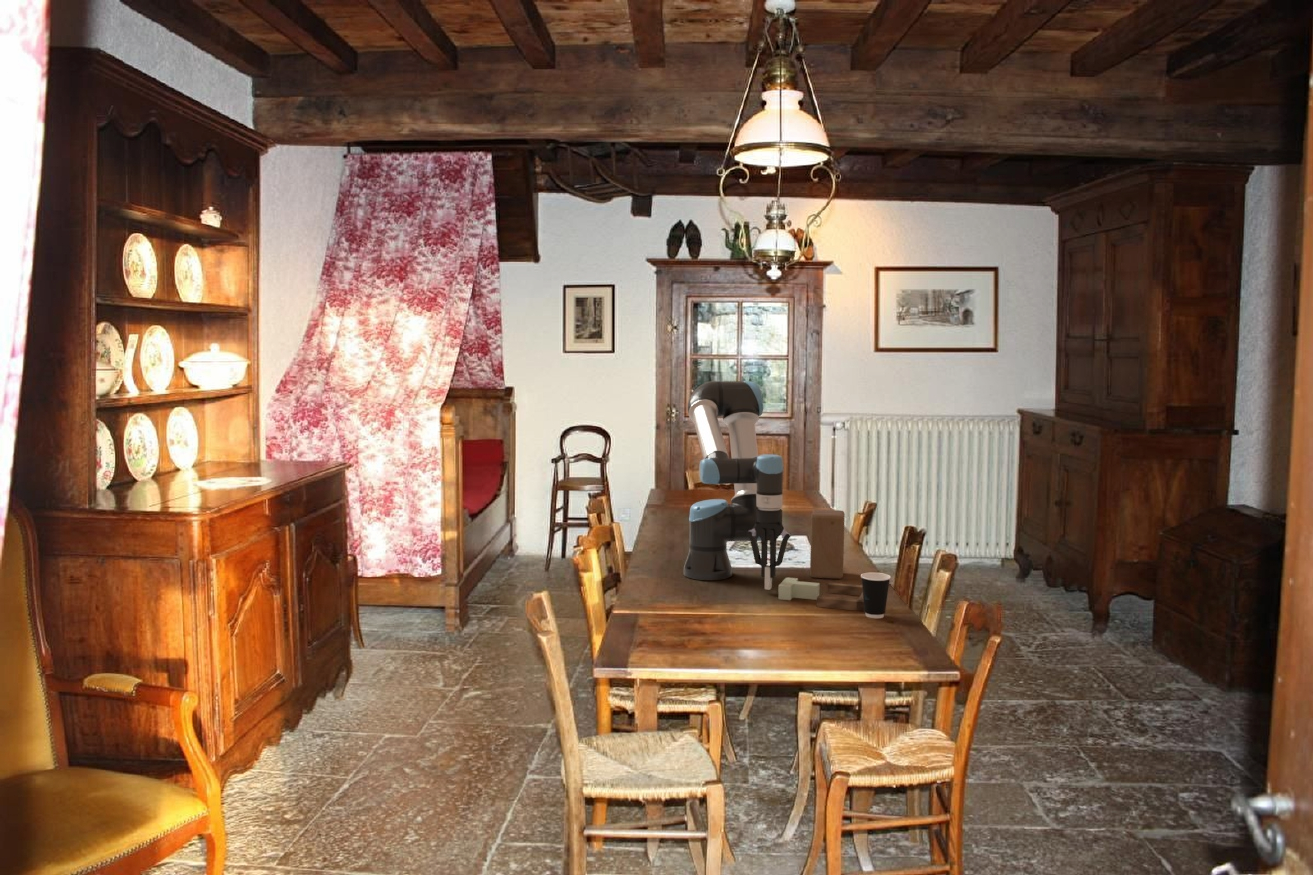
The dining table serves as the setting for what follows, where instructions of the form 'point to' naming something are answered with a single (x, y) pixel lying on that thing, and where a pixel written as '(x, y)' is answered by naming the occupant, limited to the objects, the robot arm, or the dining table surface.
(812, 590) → the t block
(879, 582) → the dixie cup
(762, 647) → the dining table surface
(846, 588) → the brown stepped flat base
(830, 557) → the wooden block
